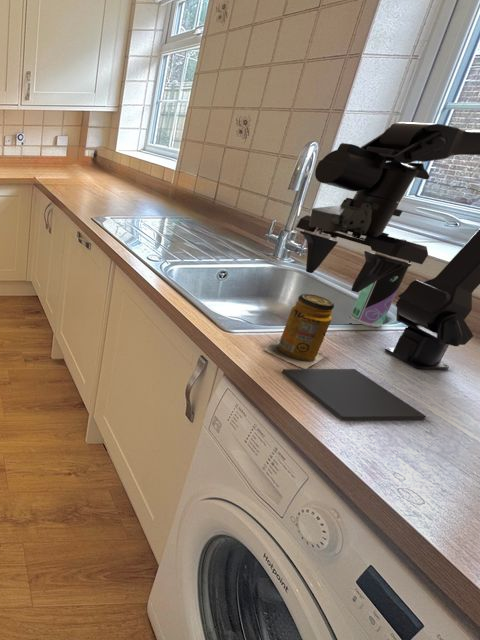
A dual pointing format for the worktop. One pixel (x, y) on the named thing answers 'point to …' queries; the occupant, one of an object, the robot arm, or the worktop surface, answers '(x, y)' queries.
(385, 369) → the worktop surface
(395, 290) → the spray can
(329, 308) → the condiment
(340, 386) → the mat
